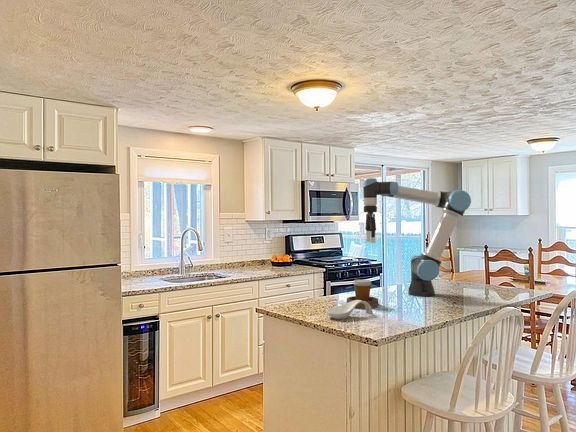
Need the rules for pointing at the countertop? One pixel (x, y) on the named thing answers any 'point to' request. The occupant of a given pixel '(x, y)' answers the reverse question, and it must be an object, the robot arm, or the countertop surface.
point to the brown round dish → (372, 301)
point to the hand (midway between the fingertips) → (370, 242)
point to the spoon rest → (347, 309)
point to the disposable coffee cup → (362, 289)
